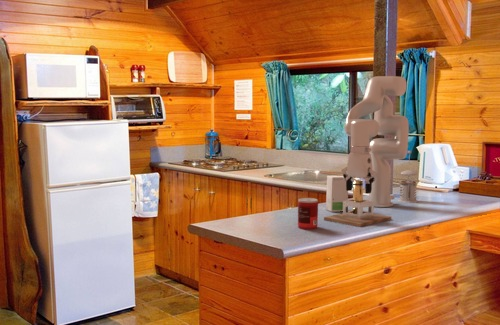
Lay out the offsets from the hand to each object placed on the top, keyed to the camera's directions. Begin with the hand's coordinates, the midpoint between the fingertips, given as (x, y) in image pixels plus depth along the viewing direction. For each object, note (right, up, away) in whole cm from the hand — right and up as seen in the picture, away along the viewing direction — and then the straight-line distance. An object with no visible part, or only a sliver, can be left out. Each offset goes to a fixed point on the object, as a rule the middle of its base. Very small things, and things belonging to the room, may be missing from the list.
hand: (358, 191), depth 248 cm
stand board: (0, -12, +1) cm, 12 cm away
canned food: (-22, -13, -14) cm, 30 cm away
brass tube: (0, -11, +1) cm, 11 cm away
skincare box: (-6, -10, +22) cm, 25 cm away
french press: (+33, -7, +48) cm, 58 cm away
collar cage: (0, -11, +1) cm, 11 cm away
